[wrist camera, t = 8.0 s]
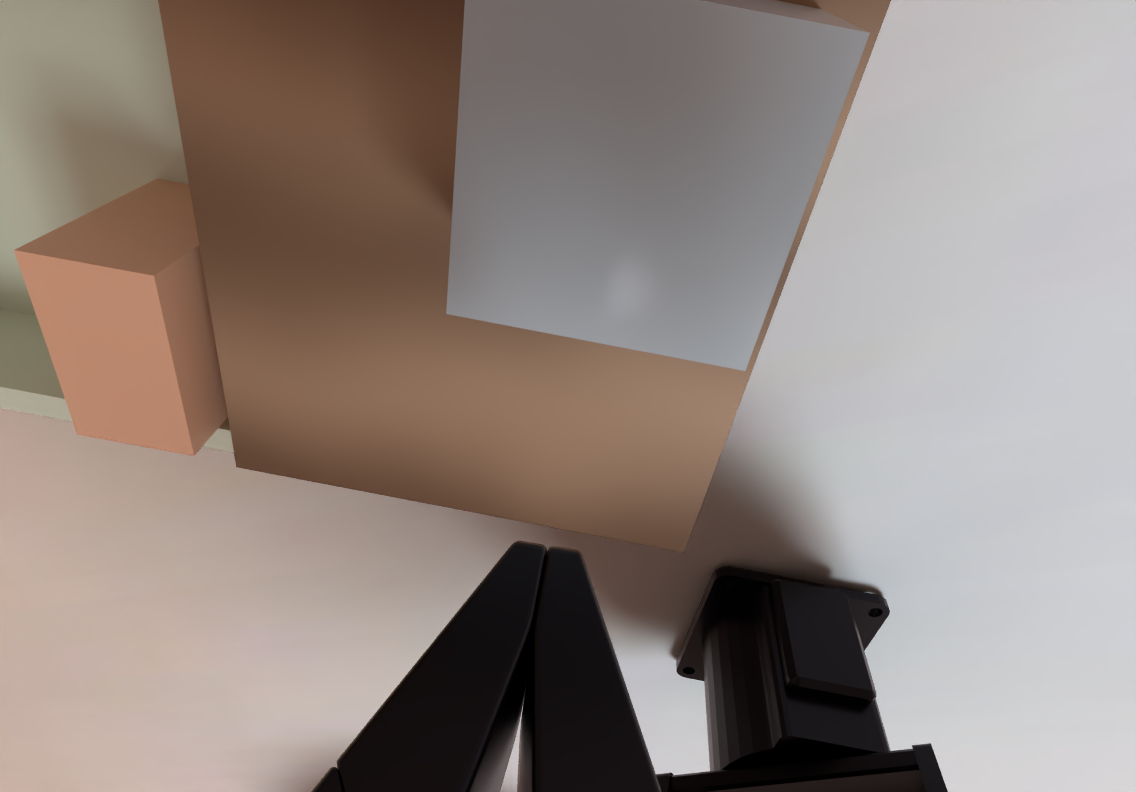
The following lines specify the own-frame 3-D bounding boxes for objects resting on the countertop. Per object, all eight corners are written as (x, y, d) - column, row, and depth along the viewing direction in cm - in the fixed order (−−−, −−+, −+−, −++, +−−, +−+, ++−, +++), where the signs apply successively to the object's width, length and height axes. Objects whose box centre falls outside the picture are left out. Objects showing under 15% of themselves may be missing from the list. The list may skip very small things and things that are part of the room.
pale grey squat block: (729, 291, 14) (745, 371, 11) (484, 244, 14) (446, 313, 11) (821, 9, 11) (869, 32, 8) (510, -51, 11) (467, -45, 8)
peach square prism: (194, 455, 17) (77, 434, 17) (283, 354, 21) (188, 336, 21) (154, 275, 14) (13, 249, 14) (265, 198, 18) (157, 178, 18)
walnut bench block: (678, 436, 22) (684, 552, 18) (314, 366, 22) (236, 466, 18) (828, -31, 15) (896, -16, 10) (278, -138, 15) (130, -163, 10)
